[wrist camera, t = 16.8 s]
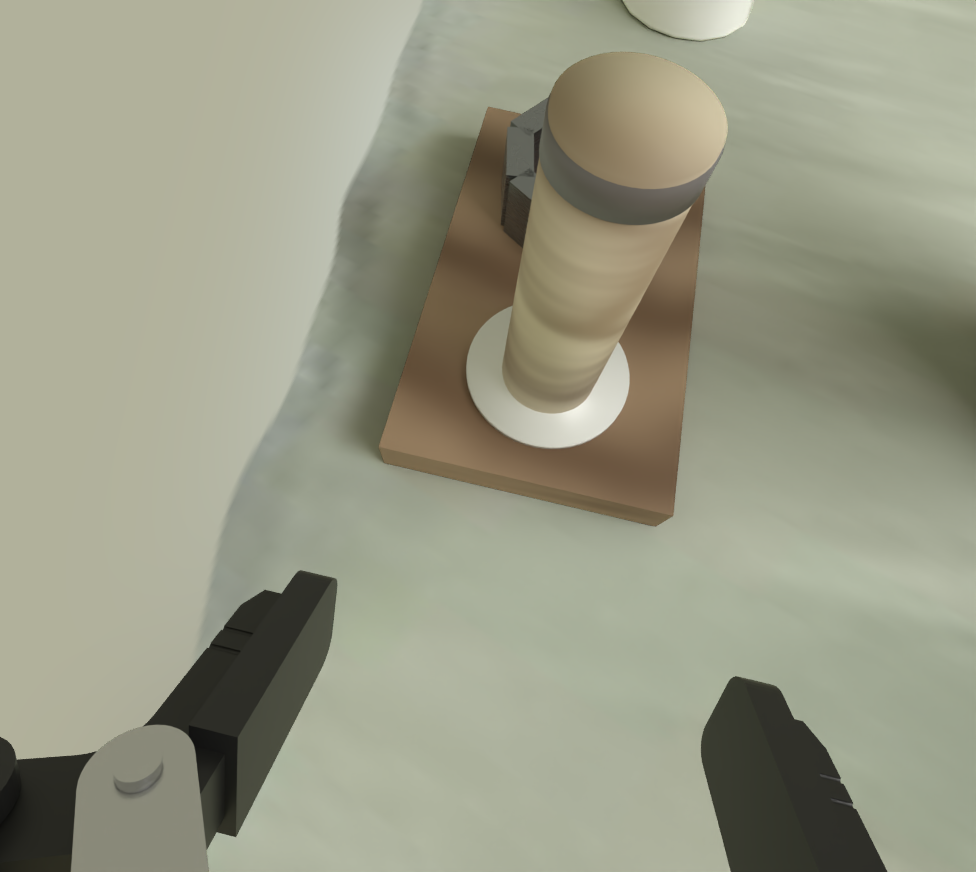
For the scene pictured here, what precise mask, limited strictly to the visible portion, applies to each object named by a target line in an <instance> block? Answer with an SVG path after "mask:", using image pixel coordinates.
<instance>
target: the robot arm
mask: <svg viewBox="0 0 976 872" xmlns="http://www.w3.org/2000/svg"><path fill="white" fill-rule="evenodd" d="M336 593H337V580H336V579H335V578H331V577H327V576H323V575H319V574H314V573H310V572H306V571H302V570H300V571H298V572H297V573H296V574H295V576H294V577H293V578H292V580H291V581H290V583H289V584H288V585H287V587H286V588H285V590H284V591H283V592H282V594H280V593H276V592H272V591H268V590H264V591H262V592H261V593H259V594H258V595H256V596H255V597H253V598H251V599H250V600H248V601H247V602H245V603H243V604H242V605H241V606H240V607H239V608H238V609H237V611H236V612H235V613H234V614H233V616H232V617H231V618H230V619H229V621H228V622H227V623H226V625H225V626H224V629H223V630H221V631H220V632H219V633H218V635H217V636H216V637H215V638H214V640H213V641H212V642H211V644H210V647H209V648H207V649H206V650H205V651H204V652H203V654H202V655H201V656H200V657H199V659H198V660H197V661H196V663H195V664H194V665H193V666H192V668H191V669H190V670H189V671H188V673H187V674H186V675H185V676H184V678H183V679H182V680H181V682H180V683H179V684H178V685H177V687H176V688H175V689H174V691H173V692H172V693H171V694H170V695H169V697H168V698H167V699H166V701H165V702H164V703H163V704H162V706H161V707H160V708H159V709H158V711H157V712H156V713H155V714H154V716H153V717H152V718H151V719H150V720H149V721H148V722H147V723H146V724H145V725H144V726H143V727H139V728H136V729H133V730H130V731H127V732H125V733H123V734H121V735H119V736H117V737H115V738H114V739H112V740H111V741H109V742H108V743H106V744H105V745H104V746H103V747H101V748H100V749H99V750H98V751H96V752H92V753H88V754H82V755H74V756H60V757H47V758H34V759H21V760H17V759H16V755H15V751H14V749H13V747H12V745H11V744H10V743H9V742H8V741H7V740H5V739H3V738H1V737H0V872H209V867H208V858H207V849H208V847H209V845H210V843H211V841H212V839H213V838H214V836H215V834H216V832H218V833H222V834H226V835H230V836H234V837H236V836H237V834H238V832H239V830H240V828H241V826H242V824H243V822H244V820H245V818H246V816H247V814H248V812H249V810H250V808H251V806H252V804H253V802H254V800H255V798H256V796H257V795H258V793H259V791H260V789H261V787H262V785H263V783H264V781H265V779H266V777H267V775H268V773H269V771H270V769H271V767H272V765H273V763H274V761H275V759H276V757H277V755H278V753H279V751H280V749H281V747H282V745H283V743H284V741H285V739H286V737H287V735H288V733H289V731H290V729H291V727H292V726H293V724H294V722H295V720H296V718H297V716H298V714H299V712H300V710H301V708H302V706H303V704H304V702H305V700H306V698H307V696H308V694H309V692H310V690H311V688H312V686H313V684H314V682H315V680H316V678H317V676H318V674H319V672H320V670H321V668H322V666H323V664H324V661H325V659H326V656H327V653H328V650H329V646H330V642H331V637H332V630H333V620H334V611H335V602H336ZM701 757H702V763H703V767H704V771H705V775H706V778H707V782H708V786H709V790H710V794H711V797H712V801H713V805H714V809H715V813H716V816H717V820H718V824H719V828H720V832H721V835H722V839H723V843H724V847H725V851H726V854H727V858H728V862H729V866H730V870H731V872H887V870H886V868H885V866H884V864H883V862H882V860H881V858H880V856H879V854H878V852H877V850H876V848H875V846H874V844H873V842H872V840H871V838H870V836H869V834H868V832H867V830H866V828H865V826H864V824H863V822H862V820H861V818H860V816H859V814H858V812H857V810H856V809H853V806H852V804H853V802H852V800H851V798H850V796H849V794H848V792H847V790H846V788H845V786H844V784H841V782H840V779H841V778H840V776H839V774H838V772H837V770H836V768H835V766H834V764H833V762H832V760H831V758H830V756H829V754H828V752H827V750H826V748H825V747H824V746H823V745H822V743H821V742H820V741H819V740H818V739H817V737H816V736H815V735H814V734H813V733H812V732H811V730H810V729H809V728H808V727H807V726H806V724H805V723H804V722H803V721H799V720H795V719H794V718H793V716H792V714H791V712H790V709H789V707H788V705H787V703H786V701H785V699H784V696H783V694H782V693H781V691H780V690H779V688H777V687H776V686H774V685H771V684H766V683H762V682H758V681H754V680H750V679H746V678H742V677H737V676H735V677H733V678H731V679H730V681H729V682H728V684H727V686H726V688H725V690H724V692H723V693H722V695H721V697H720V699H719V701H718V703H717V705H716V707H715V709H714V711H713V713H712V715H711V716H710V718H709V720H708V722H707V724H706V726H705V728H704V731H703V735H702V741H701Z"/></svg>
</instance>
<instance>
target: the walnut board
mask: <svg viewBox="0 0 976 872" xmlns="http://www.w3.org/2000/svg"><path fill="white" fill-rule="evenodd" d="M520 115H521V114H519V113H515V112H510V111H505V110H501V109H496V108H492V107H488V108H487V111H486V114H485V118H484V121H483V124H482V127H481V130H480V133H479V136H478V139H477V142H476V146H475V149H474V152H473V155H472V158H471V161H470V164H469V167H468V170H467V174H466V177H465V180H464V183H463V186H462V189H461V192H460V195H459V198H458V201H457V205H456V208H455V211H454V214H453V217H452V220H451V223H450V226H449V229H448V233H447V236H446V239H445V242H444V245H443V248H442V251H441V254H440V257H439V261H438V264H437V267H436V270H435V273H434V276H433V279H432V282H431V285H430V288H429V292H428V295H427V298H426V301H425V304H424V307H423V310H422V313H421V316H420V320H419V323H418V326H417V329H416V332H415V335H414V338H413V341H412V344H411V348H410V351H409V354H408V357H407V360H406V363H405V366H404V369H403V372H402V375H401V379H400V382H399V385H398V388H397V391H396V394H395V397H394V400H393V403H392V407H391V410H390V413H389V416H388V419H387V422H386V425H385V428H384V431H383V435H382V438H381V441H380V444H379V450H380V452H381V455H382V458H383V461H384V463H387V464H391V465H396V466H400V467H404V468H408V469H413V470H417V471H421V472H425V473H430V474H434V475H438V476H442V477H447V478H451V479H455V480H459V481H464V482H468V483H472V484H476V485H481V486H485V487H489V488H493V489H498V490H502V491H506V492H510V493H515V494H519V495H523V496H528V497H532V498H536V499H540V500H545V501H549V502H553V503H557V504H562V505H566V506H570V507H574V508H579V509H583V510H587V511H591V512H596V513H600V514H604V515H608V516H613V517H617V518H621V519H625V520H630V521H634V522H638V523H642V524H647V525H651V526H655V527H656V526H657V525H659V524H661V523H662V522H664V521H666V520H667V519H669V518H670V517H672V516H673V512H674V502H675V492H676V482H677V471H678V461H679V451H680V441H681V430H682V420H683V410H684V400H685V389H686V379H687V369H688V359H689V348H690V338H691V328H692V318H693V308H694V297H695V287H696V277H697V267H698V256H699V246H700V236H701V226H702V215H703V205H704V195H705V187H704V189H703V191H702V192H701V194H700V196H699V197H698V199H697V200H696V201H695V203H694V204H693V205H692V206H691V208H690V210H689V212H688V214H687V216H686V218H685V219H684V221H683V223H682V225H681V227H680V229H679V230H678V232H677V234H676V236H675V238H674V240H673V242H672V243H671V245H670V247H669V249H668V251H667V253H666V254H665V256H664V258H663V260H662V262H661V264H660V266H659V267H658V269H657V271H656V273H655V275H654V277H653V279H652V280H651V282H650V284H649V286H648V288H647V290H646V291H645V293H644V295H643V297H642V299H641V301H640V303H639V304H638V306H637V308H636V310H635V312H634V314H633V315H632V317H631V319H630V321H629V323H628V325H627V327H626V328H625V330H624V332H623V334H622V336H621V338H620V339H619V341H618V342H619V344H620V345H621V347H622V349H623V351H624V354H625V356H626V359H627V363H628V368H629V391H628V395H627V398H626V402H625V404H624V406H623V408H622V410H621V412H620V413H619V415H618V416H617V418H616V419H615V421H614V422H613V423H612V424H611V425H610V426H609V427H608V428H607V429H606V430H605V431H604V432H603V433H601V434H600V435H599V436H597V437H596V438H594V439H592V440H590V441H588V442H586V443H583V444H581V445H578V446H574V447H570V448H563V449H542V448H535V447H531V446H527V445H524V444H521V443H518V442H516V441H514V440H512V439H510V438H508V437H506V436H505V435H503V434H502V433H500V432H499V431H497V430H496V429H495V428H494V427H493V426H491V425H490V424H489V423H488V422H487V421H486V420H485V418H484V417H483V416H482V415H481V413H480V412H479V410H478V409H477V408H476V406H475V404H474V402H473V400H472V398H471V395H470V392H469V389H468V384H467V378H466V364H467V356H468V352H469V349H470V346H471V343H472V341H473V339H474V337H475V336H476V334H477V332H478V331H479V330H480V328H481V327H482V326H483V325H484V324H485V323H486V322H487V321H488V320H489V319H490V318H491V317H493V316H494V315H496V314H497V313H499V312H500V311H502V310H504V309H506V308H508V307H511V306H513V301H514V296H515V290H516V285H517V279H518V273H519V268H520V262H521V257H522V251H523V248H522V247H521V246H519V245H518V244H517V243H516V242H515V241H514V240H513V239H511V238H510V237H509V236H508V235H507V234H506V233H505V232H503V231H504V226H502V225H501V188H502V173H503V163H504V154H505V145H506V136H507V127H510V124H511V121H512V120H513V119H515V118H517V117H518V116H520Z"/></svg>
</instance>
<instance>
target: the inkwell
mask: <svg viewBox="0 0 976 872" xmlns="http://www.w3.org/2000/svg"><path fill="white" fill-rule="evenodd" d="M622 1H623V3H624V4H625V6H626V7H627V9H628V11H629V12H630V14H632V15H633V16H634V17H635V18H637V19H638V20H639V21H641V22H642V23H643V24H645V25H646V26H647V27H649V28H650V29H653V30H655V31H658V32H661V33H663V34H666V35H668V36H671V37H674V38H680V39H688V40H696V41H705V40H711V39H717V38H723V37H726V36H727V35H729V34H731V33H732V32H734V31H736V30H738V29H739V28H741V27H742V26H744V25H745V23H746V21H747V19H748V17H749V15H750V13H751V11H752V8H753V3H754V0H622Z"/></svg>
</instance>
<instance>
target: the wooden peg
mask: <svg viewBox="0 0 976 872" xmlns="http://www.w3.org/2000/svg"><path fill="white" fill-rule="evenodd" d="M727 131H728V126H727V118H726V114H725V111H724V109H723V107H722V104H721V102H720V101H719V99H718V98H717V96H716V95H715V93H714V92H713V91H712V90H711V89H710V87H709V86H708V85H706V84H705V83H704V82H703V81H702V80H701V79H700V78H698V77H697V76H696V75H695V74H693V73H692V72H690V71H688V70H687V69H685V68H683V67H681V66H679V65H677V64H675V63H673V62H671V61H668V60H666V59H662V58H659V57H656V56H652V55H647V54H642V53H635V52H610V53H603V54H599V55H595V56H591V57H588V58H586V59H583V60H581V61H579V62H577V63H575V64H573V65H572V66H571V67H569V68H568V69H567V70H566V71H565V72H564V73H563V74H561V75H560V77H559V78H558V80H557V81H556V82H555V85H554V87H553V89H552V91H551V93H550V95H549V97H548V101H547V105H546V110H545V116H544V121H543V127H542V133H541V138H540V145H539V161H538V167H537V173H536V178H535V184H534V189H533V195H532V201H531V206H530V212H529V217H528V223H527V229H526V234H525V240H524V245H523V251H522V257H521V262H520V268H519V273H518V279H517V285H516V290H515V296H514V301H513V307H512V312H511V318H510V324H509V329H508V335H507V340H506V346H505V352H504V357H503V363H502V375H503V379H504V382H505V385H506V387H507V389H508V390H509V392H510V393H511V395H512V396H513V397H514V398H515V399H516V400H517V401H518V402H520V403H521V404H522V405H524V406H525V407H527V408H529V409H532V410H534V411H537V412H541V413H548V414H556V413H563V412H567V411H569V410H572V409H574V408H576V407H578V406H579V405H580V404H582V403H583V402H584V401H585V400H586V399H587V397H588V396H589V395H590V393H591V391H592V389H593V388H594V386H595V384H596V382H597V380H598V378H599V376H600V375H601V373H602V371H603V369H604V367H605V365H606V364H607V362H608V360H609V358H610V356H611V354H612V352H613V351H614V349H615V347H616V345H617V343H618V341H619V339H620V338H621V336H622V334H623V332H624V330H625V328H626V327H627V325H628V323H629V321H630V319H631V317H632V315H633V314H634V312H635V310H636V308H637V306H638V304H639V303H640V301H641V299H642V297H643V295H644V293H645V291H646V290H647V288H648V286H649V284H650V282H651V280H652V279H653V277H654V275H655V273H656V271H657V269H658V267H659V266H660V264H661V262H662V260H663V258H664V256H665V254H666V253H667V251H668V249H669V247H670V245H671V243H672V242H673V240H674V238H675V236H676V234H677V232H678V230H679V229H680V227H681V225H682V223H683V221H684V219H685V218H686V216H687V214H688V212H689V210H690V208H691V206H692V205H693V204H694V203H695V201H696V200H697V199H698V197H699V196H700V194H701V192H702V191H703V189H704V187H705V185H706V183H707V181H708V180H709V178H710V176H711V174H712V172H713V171H714V169H715V167H716V165H717V163H718V161H719V159H720V157H721V155H722V153H723V150H724V147H725V142H726V138H727Z"/></svg>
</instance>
